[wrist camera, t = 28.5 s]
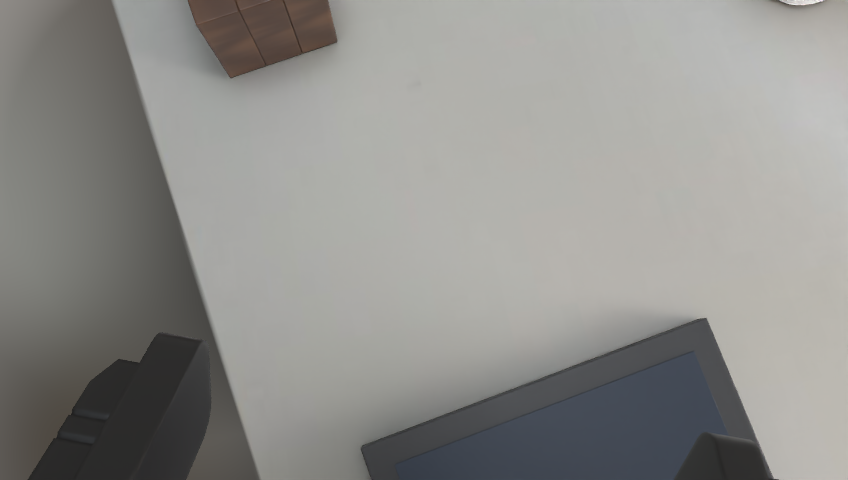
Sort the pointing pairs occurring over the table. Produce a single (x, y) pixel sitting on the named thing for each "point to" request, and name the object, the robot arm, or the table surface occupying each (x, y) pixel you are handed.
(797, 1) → the can
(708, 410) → the tablet
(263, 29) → the pen holder
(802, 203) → the table surface
